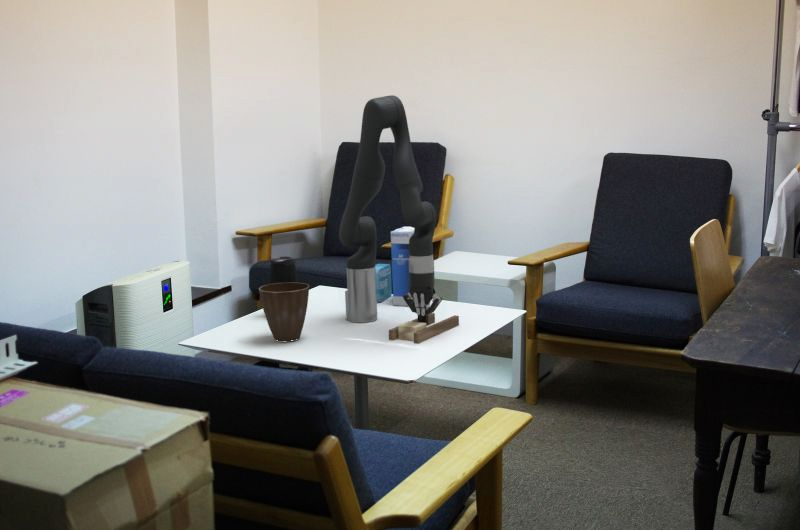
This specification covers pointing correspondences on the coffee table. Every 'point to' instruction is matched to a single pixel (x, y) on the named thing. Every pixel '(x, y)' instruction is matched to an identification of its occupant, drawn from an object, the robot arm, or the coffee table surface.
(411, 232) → the string lights box
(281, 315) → the plant pot
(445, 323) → the walnut chute
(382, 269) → the data package
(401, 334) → the maple block
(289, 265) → the portable speaker
